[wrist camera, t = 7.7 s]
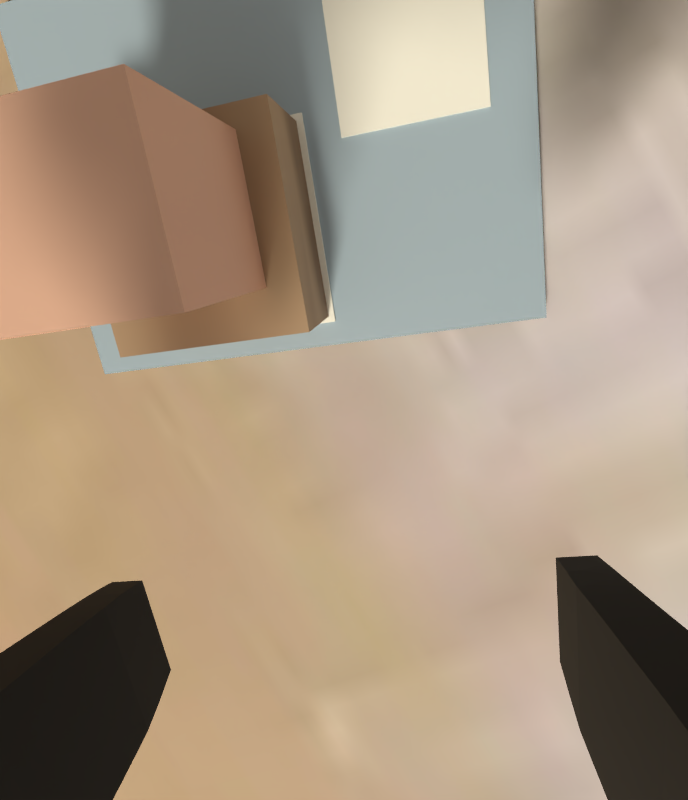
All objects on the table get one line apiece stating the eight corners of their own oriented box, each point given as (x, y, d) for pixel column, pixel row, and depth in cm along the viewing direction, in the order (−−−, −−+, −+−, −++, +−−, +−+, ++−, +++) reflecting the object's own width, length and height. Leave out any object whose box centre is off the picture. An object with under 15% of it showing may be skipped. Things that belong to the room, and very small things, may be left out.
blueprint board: (522, -141, 13) (528, -161, 12) (542, 314, 16) (547, 317, 16) (7, 14, 16) (-10, 4, 15) (114, 370, 19) (103, 375, 19)
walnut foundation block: (296, 121, 15) (267, 94, 12) (328, 316, 17) (309, 332, 14) (121, 159, 16) (57, 143, 13) (168, 338, 18) (120, 357, 15)
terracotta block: (235, 129, 13) (123, 63, 8) (266, 287, 14) (185, 312, 9) (97, 159, 13) (-80, 115, 9) (137, 307, 14) (0, 340, 10)
